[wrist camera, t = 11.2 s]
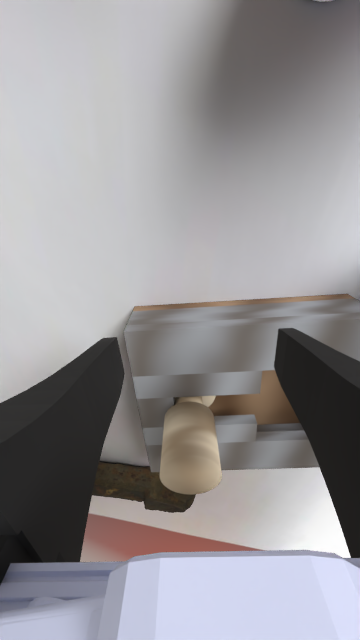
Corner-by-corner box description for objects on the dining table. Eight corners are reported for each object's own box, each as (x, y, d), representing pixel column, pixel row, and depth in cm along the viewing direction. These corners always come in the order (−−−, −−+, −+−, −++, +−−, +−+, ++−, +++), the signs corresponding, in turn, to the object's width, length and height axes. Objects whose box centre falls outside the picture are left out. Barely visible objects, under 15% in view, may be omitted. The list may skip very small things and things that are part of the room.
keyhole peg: (213, 359, 23) (229, 448, 15) (215, 399, 25) (230, 496, 17) (158, 363, 23) (145, 453, 15) (165, 403, 25) (157, 500, 17)
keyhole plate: (347, 293, 21) (386, 317, 17) (314, 427, 28) (336, 466, 24) (134, 306, 22) (123, 332, 18) (155, 433, 29) (150, 472, 25)
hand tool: (47, 465, 32) (27, 505, 28) (46, 444, 30) (25, 484, 26) (191, 484, 34) (192, 525, 30) (198, 465, 32) (200, 506, 28)
